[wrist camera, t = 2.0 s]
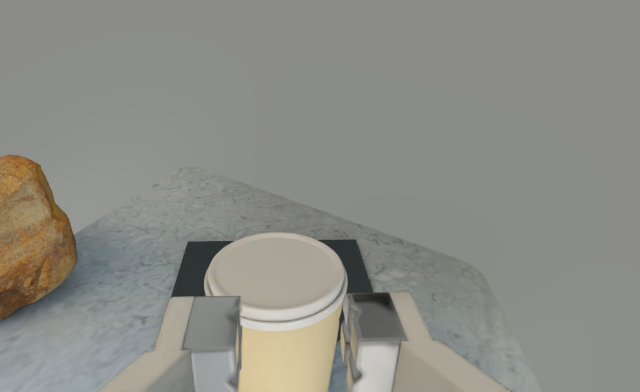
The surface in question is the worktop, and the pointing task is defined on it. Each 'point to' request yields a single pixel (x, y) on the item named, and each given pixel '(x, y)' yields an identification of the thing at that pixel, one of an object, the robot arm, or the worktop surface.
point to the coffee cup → (283, 308)
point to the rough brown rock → (30, 236)
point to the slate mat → (205, 251)
